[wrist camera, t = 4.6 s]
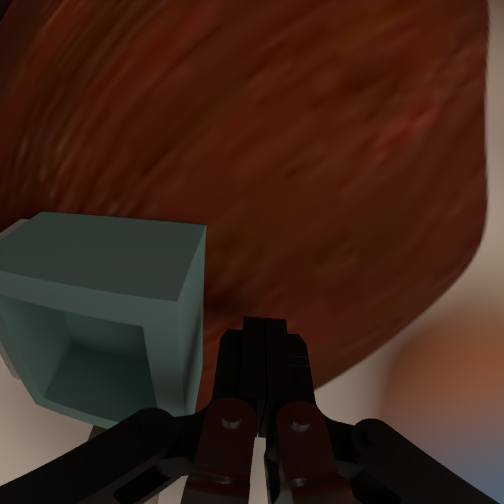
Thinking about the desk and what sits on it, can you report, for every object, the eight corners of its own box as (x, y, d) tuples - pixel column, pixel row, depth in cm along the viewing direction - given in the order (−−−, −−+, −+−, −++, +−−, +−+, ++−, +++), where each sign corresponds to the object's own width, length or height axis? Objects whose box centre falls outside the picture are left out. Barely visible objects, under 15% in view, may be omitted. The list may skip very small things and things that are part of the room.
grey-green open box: (41, 211, 10) (-30, 263, 6) (206, 224, 11) (176, 302, 6) (72, 340, 13) (36, 403, 9) (202, 365, 14) (188, 446, 10)
